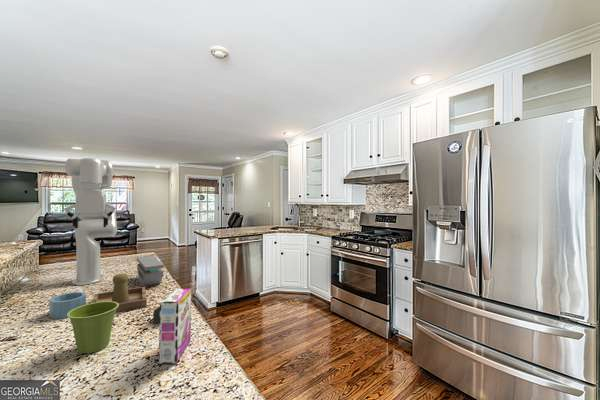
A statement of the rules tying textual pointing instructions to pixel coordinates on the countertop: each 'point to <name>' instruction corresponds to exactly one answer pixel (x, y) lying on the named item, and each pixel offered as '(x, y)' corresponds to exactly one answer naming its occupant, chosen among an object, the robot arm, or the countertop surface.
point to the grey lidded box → (149, 270)
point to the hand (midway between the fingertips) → (90, 227)
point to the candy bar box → (174, 325)
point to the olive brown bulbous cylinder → (120, 288)
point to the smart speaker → (156, 315)
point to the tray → (135, 302)
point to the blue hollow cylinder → (65, 304)
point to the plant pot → (92, 325)
